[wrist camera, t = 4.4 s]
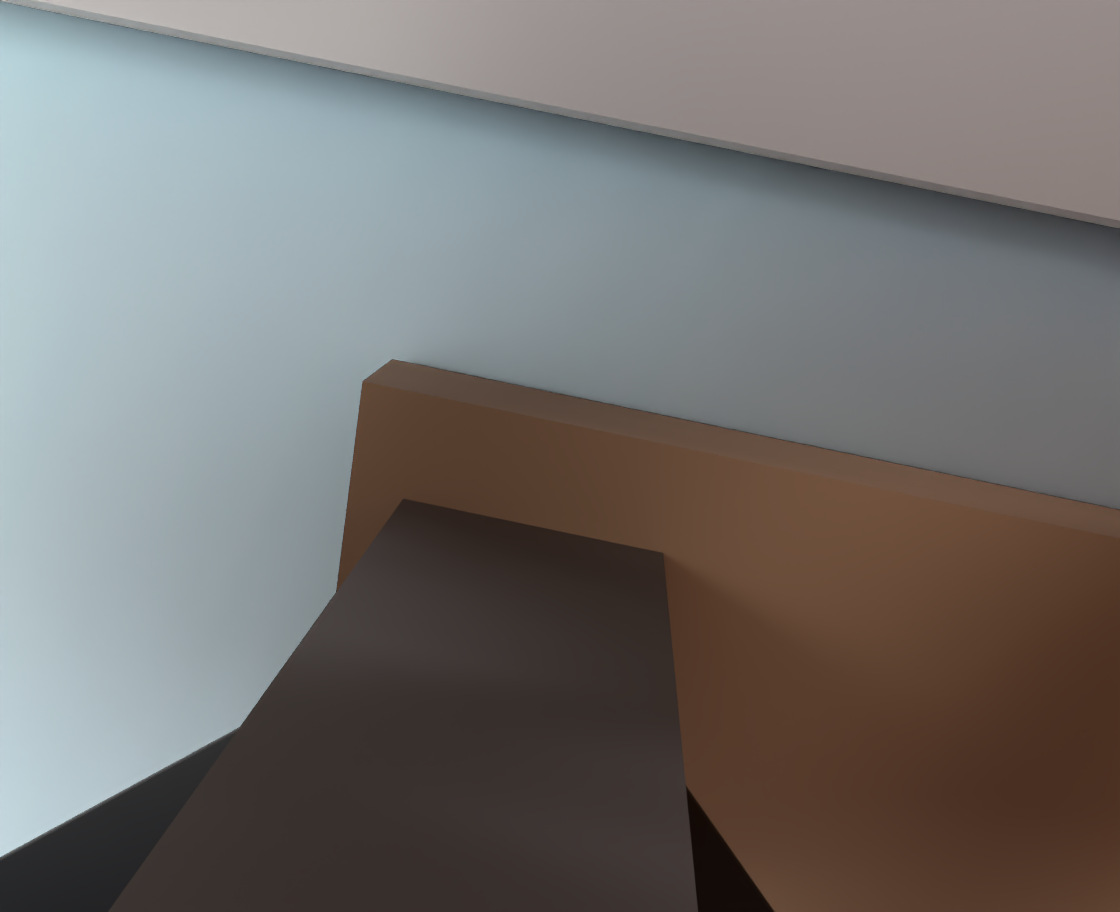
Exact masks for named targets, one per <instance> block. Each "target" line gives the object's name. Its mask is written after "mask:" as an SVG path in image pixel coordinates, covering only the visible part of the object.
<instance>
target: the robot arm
mask: <svg viewBox="0 0 1120 912" xmlns="http://www.w3.org/2000/svg"><path fill="white" fill-rule="evenodd" d="M239 728H240V727H239ZM239 728H237V729H235V730H234V731H232V732H230V733H228V734H226V735H224V736H223V737H221V738H219V739H217V740H215V741H213V742H211V743H210V744H208V745H206V746H204V747H202V748H200V749H199V750H197V751H195V752H193V753H191V754H189V755H188V756H186V757H184V758H182V759H180V760H178V761H176V762H175V763H173V764H171V765H169V766H167V767H165V768H164V769H162V770H160V771H158V772H156V773H154V774H153V775H151V776H149V777H147V778H145V779H143V780H142V781H140V782H138V783H136V784H134V785H132V786H130V787H129V788H127V789H125V790H123V791H121V792H119V793H118V794H116V795H114V796H112V797H110V798H108V799H107V800H105V801H103V802H101V803H99V804H97V805H96V806H94V807H92V808H90V809H88V810H86V811H84V812H83V813H81V814H79V815H77V816H75V817H73V818H72V819H70V820H68V821H66V822H64V823H62V824H61V825H59V826H57V827H55V828H53V829H51V830H49V831H48V832H46V833H44V834H42V835H40V836H38V837H37V838H35V839H33V840H31V841H29V842H27V843H26V844H24V845H22V846H20V847H18V848H16V849H15V850H13V851H11V852H9V853H7V854H5V855H3V856H2V857H0V912H108V911H109V910H110V908H111V907H112V905H113V904H114V903H115V901H116V900H117V898H118V897H119V896H120V894H121V893H122V891H123V890H124V889H125V887H126V886H127V884H128V883H129V882H130V880H131V879H132V877H133V876H134V875H135V873H136V872H137V870H138V869H139V868H140V866H141V865H142V863H143V862H144V861H145V859H146V858H147V856H148V855H149V854H150V852H151V851H152V850H153V848H154V847H155V845H156V844H157V843H158V841H159V840H160V838H161V837H162V836H163V834H164V833H165V831H166V830H167V829H168V827H169V826H170V824H171V823H172V822H173V820H174V819H175V817H176V816H177V815H178V813H179V812H180V810H181V809H182V808H183V806H184V805H185V803H186V802H187V801H188V799H189V798H190V796H191V795H192V794H193V792H194V791H195V789H196V788H197V787H198V785H199V784H200V782H201V781H202V780H203V778H204V777H205V775H206V774H207V773H208V771H209V770H210V768H211V767H212V766H213V764H214V763H215V761H216V760H217V759H218V757H219V756H220V754H221V753H222V752H223V750H224V749H225V747H226V746H227V745H228V743H229V742H230V740H231V739H232V738H233V736H234V735H235V733H236V732H237V731H238V729H239ZM686 793H687V803H688V813H689V824H690V834H691V844H692V855H693V865H694V875H695V886H696V896H697V906H698V912H775V911H774V910H773V908H772V907H771V906H770V904H769V903H768V901H767V900H766V898H765V897H764V896H763V894H762V893H761V891H760V890H759V888H758V887H757V886H756V884H755V883H754V881H753V880H752V878H751V877H750V876H749V874H748V873H747V871H746V870H745V868H744V867H743V866H742V864H741V863H740V861H739V860H738V858H737V857H736V856H735V854H734V853H733V851H732V850H731V848H730V847H729V846H728V844H727V843H726V841H725V840H724V838H723V837H722V836H721V834H720V833H719V831H718V830H717V828H716V827H715V826H714V824H713V823H712V821H711V820H710V818H709V817H708V816H707V814H706V813H705V811H704V810H703V808H702V807H701V806H700V804H699V803H698V801H697V800H696V799H695V797H694V796H693V794H692V793H691V791H690V790H689V789H688V787H687V786H686Z"/></svg>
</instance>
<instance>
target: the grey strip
mask: <svg viewBox="0 0 1120 912" xmlns="http://www.w3.org/2000/svg"><path fill="white" fill-rule="evenodd" d="M0 1H1V2H6V3H11V4H16V5H21V6H26V7H31V8H36V9H41V10H45V11H50V12H55V13H60V14H65V15H70V16H75V17H80V18H85V19H90V20H95V21H100V22H105V23H109V24H114V25H119V26H124V27H129V28H134V29H139V30H144V31H149V32H154V33H159V34H164V35H169V36H174V37H178V38H183V39H188V40H193V41H198V42H203V43H208V44H213V45H218V46H223V47H228V48H233V49H238V50H243V51H247V52H252V53H257V54H262V55H267V56H272V57H277V58H282V59H287V60H292V61H297V62H302V63H307V64H311V65H316V66H321V67H326V68H331V69H336V70H341V71H346V72H351V73H356V74H361V75H366V76H371V77H376V78H380V79H385V80H390V81H395V82H400V83H405V84H410V85H415V86H420V87H425V88H430V89H435V90H440V91H445V92H449V93H454V94H459V95H464V96H469V97H474V98H479V99H484V100H489V101H494V102H499V103H504V104H509V105H513V106H518V107H523V108H528V109H533V110H538V111H543V112H548V113H553V114H558V115H563V116H568V117H573V118H578V119H582V120H587V121H592V122H597V123H602V124H607V125H612V126H617V127H622V128H627V129H632V130H637V131H642V132H647V133H651V134H656V135H661V136H666V137H671V138H676V139H681V140H686V141H691V142H696V143H701V144H706V145H711V146H715V147H720V148H725V149H730V150H735V151H740V152H745V153H750V154H755V155H760V156H765V157H770V158H775V159H780V160H784V161H789V162H794V163H799V164H804V165H809V166H814V167H819V168H824V169H829V170H834V171H839V172H844V173H849V174H853V175H858V176H863V177H868V178H873V179H878V180H883V181H888V182H893V183H898V184H903V185H908V186H913V187H917V188H922V189H927V190H932V191H937V192H942V193H947V194H952V195H957V196H962V197H967V198H972V199H977V200H982V201H986V202H991V203H996V204H1001V205H1006V206H1011V207H1016V208H1021V209H1026V210H1031V211H1036V212H1041V213H1046V214H1050V215H1055V216H1060V217H1065V218H1070V219H1075V220H1080V221H1085V222H1090V223H1095V224H1100V225H1105V226H1110V227H1115V228H1119V229H1120V0H0Z"/></svg>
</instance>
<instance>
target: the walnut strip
mask: <svg viewBox="0 0 1120 912" xmlns="http://www.w3.org/2000/svg"><path fill="white" fill-rule="evenodd" d="M686 786H687V787H688V789H689V790H690V791H691V793H692V794H693V796H694V797H695V799H696V800H697V801H698V803H699V804H700V806H701V807H702V808H703V810H704V811H705V813H706V814H707V816H708V817H709V818H710V820H711V821H712V823H713V824H714V826H715V827H716V828H717V830H718V831H719V833H720V834H721V836H722V837H723V838H724V840H725V841H726V843H727V844H728V846H729V847H730V848H731V850H732V851H733V853H734V854H735V856H736V857H737V858H738V860H739V861H740V863H741V864H742V866H743V867H744V868H745V870H746V871H747V873H748V874H749V876H750V877H751V878H752V880H753V881H754V883H755V884H756V886H757V887H758V888H759V890H760V891H761V893H762V894H763V896H764V897H765V898H766V900H767V901H768V903H769V904H770V906H771V907H772V908H773V910H774V911H775V912H1120V510H1117V509H1112V508H1108V507H1103V506H1098V505H1093V504H1088V503H1083V502H1079V501H1074V500H1069V499H1064V498H1059V497H1055V496H1050V495H1045V494H1040V493H1035V492H1030V491H1026V490H1021V489H1016V488H1011V487H1006V486H1001V485H997V484H992V483H987V482H982V481H977V480H972V479H968V478H963V477H958V476H953V475H948V474H943V473H939V472H934V471H929V470H924V469H919V468H914V467H910V466H905V465H900V464H895V463H890V462H886V461H881V460H876V459H871V458H866V457H861V456H857V455H852V454H847V453H842V452H837V451H832V450H828V449H823V448H818V447H813V446H808V445H803V444H799V443H794V442H789V441H784V440H779V439H774V438H770V437H765V436H760V435H755V434H750V433H745V432H741V431H736V430H731V429H726V428H721V427H716V426H712V425H707V424H702V423H697V422H692V421H688V420H683V419H678V418H673V417H668V416H663V415H659V414H654V413H649V412H644V411H639V410H634V409H630V408H625V407H620V406H615V405H610V404H605V403H601V402H596V401H591V400H586V399H581V398H576V397H572V396H567V395H562V394H557V393H552V392H547V391H543V390H538V389H533V388H528V387H523V386H519V385H514V384H509V383H504V382H499V381H494V380H490V379H485V378H480V377H475V376H470V375H465V374H461V373H456V372H451V371H446V370H441V369H436V368H432V367H427V366H422V365H417V364H412V363H407V362H403V361H398V360H393V359H392V360H391V361H389V362H388V363H387V364H385V365H384V366H383V367H381V368H380V369H379V370H377V371H376V372H375V373H373V374H372V375H371V376H369V377H368V378H367V379H365V380H364V381H363V382H362V390H361V398H360V406H359V414H358V422H357V430H356V438H355V446H354V454H353V462H352V470H351V478H350V486H349V494H348V502H347V510H346V518H345V526H344V534H343V542H342V550H341V558H340V566H339V574H338V582H337V590H336V593H335V595H334V596H333V598H332V599H331V600H330V602H329V603H328V605H327V606H326V607H325V609H324V610H323V612H322V613H321V614H320V616H319V617H318V619H317V620H316V621H315V623H314V624H313V626H312V627H311V628H310V630H309V631H308V633H307V634H306V635H305V637H304V638H303V640H302V641H301V642H300V644H299V645H298V647H297V648H296V649H295V651H294V652H293V654H292V655H291V656H290V658H289V659H288V661H287V662H286V663H285V665H284V666H283V668H282V669H281V670H280V672H279V673H278V675H277V676H276V677H275V679H274V680H273V682H272V683H271V684H270V686H269V687H268V689H267V690H266V691H265V693H264V694H263V696H262V697H261V698H260V700H259V701H258V703H257V704H256V705H255V707H254V708H253V710H252V711H251V712H250V714H249V715H248V717H247V718H246V719H245V721H244V722H243V724H242V725H241V726H240V728H239V729H238V731H237V732H236V733H235V735H234V736H233V738H232V739H231V740H230V742H229V743H228V745H227V746H226V747H225V749H224V750H223V752H222V753H221V754H220V756H219V757H218V759H217V760H216V761H215V763H214V764H213V766H212V767H211V768H210V770H209V771H208V773H207V774H206V775H205V777H204V778H203V780H202V781H201V782H200V784H199V785H198V787H197V788H196V789H195V791H194V792H193V794H192V795H191V796H190V798H189V799H188V801H187V802H186V803H185V805H184V806H183V808H182V809H181V810H180V812H179V813H178V815H177V816H176V817H175V819H174V820H173V822H172V823H171V824H170V826H169V827H168V829H167V830H166V831H165V833H164V834H163V836H162V837H161V838H160V840H159V841H158V843H157V844H156V845H155V847H154V848H153V850H152V851H151V852H150V854H149V855H148V856H147V858H146V859H145V861H144V862H143V863H142V865H141V866H140V868H139V869H138V870H137V872H136V873H135V875H134V876H133V877H132V879H131V880H130V882H129V883H128V884H127V886H126V887H125V889H124V890H123V891H122V893H121V894H120V896H119V897H118V898H117V900H116V901H115V903H114V904H113V905H112V907H111V908H110V910H109V911H108V912H698V906H697V896H696V886H695V875H694V865H693V855H692V844H691V834H690V824H689V813H688V803H687V793H686Z"/></svg>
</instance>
